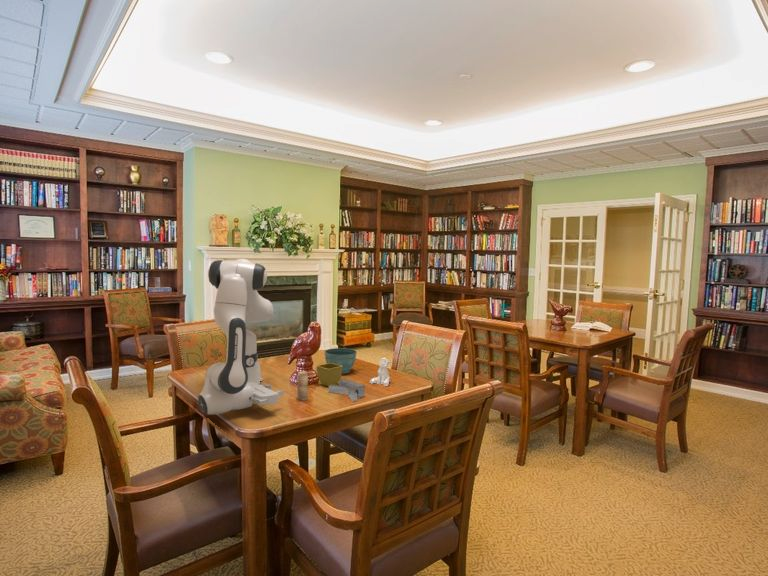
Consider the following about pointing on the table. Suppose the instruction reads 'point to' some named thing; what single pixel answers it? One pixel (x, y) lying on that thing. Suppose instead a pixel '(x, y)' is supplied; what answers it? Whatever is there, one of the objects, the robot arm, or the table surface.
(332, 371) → the flower pot
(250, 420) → the table surface
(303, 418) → the table surface
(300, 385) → the dowel
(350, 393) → the crossed grey wooden bars
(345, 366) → the flower pot
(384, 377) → the sitting furry creature
